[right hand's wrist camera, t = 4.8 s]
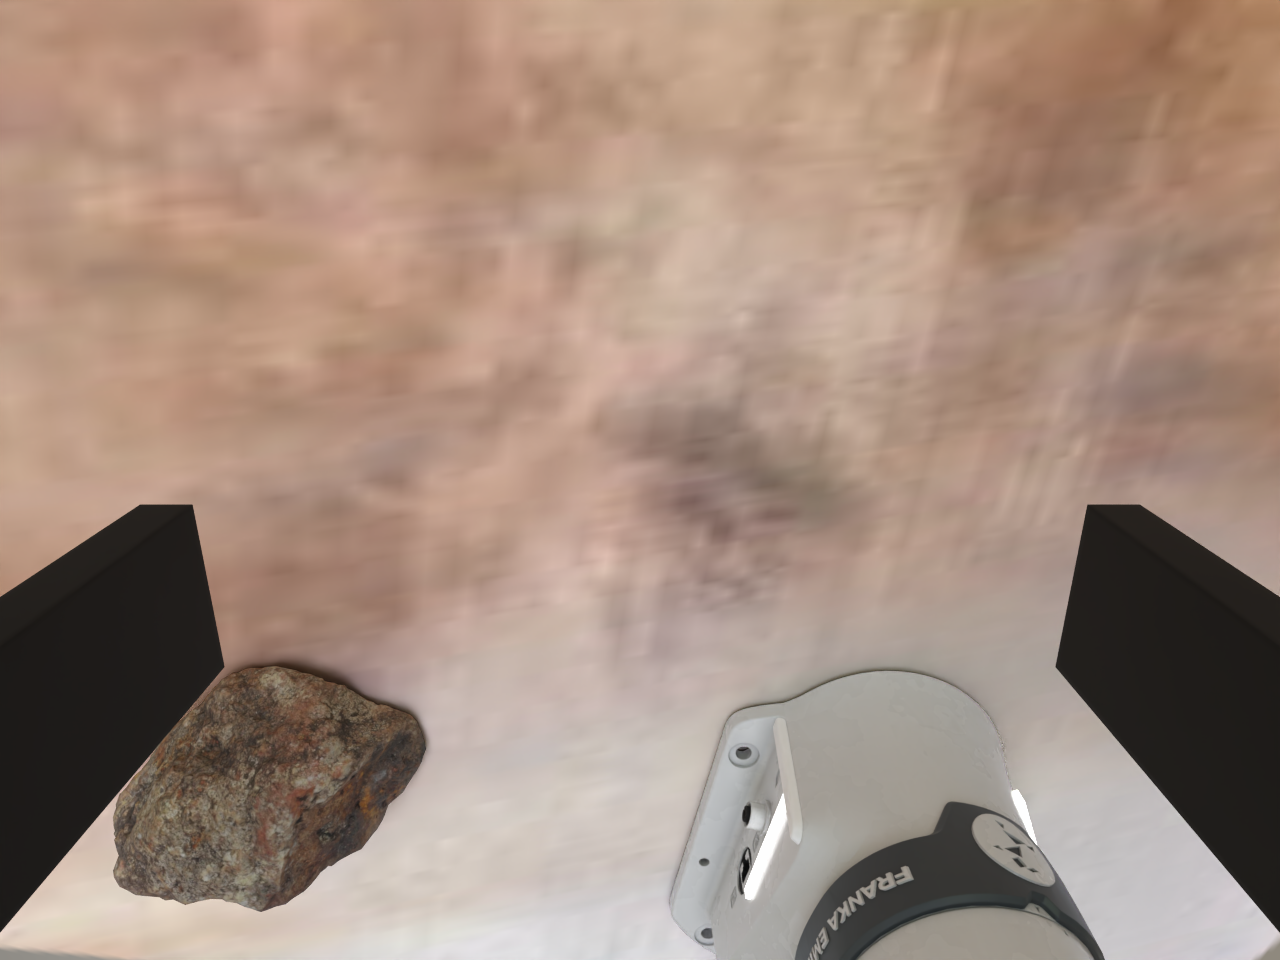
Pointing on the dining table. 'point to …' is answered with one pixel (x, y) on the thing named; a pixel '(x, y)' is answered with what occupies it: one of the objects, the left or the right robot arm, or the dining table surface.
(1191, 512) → the dining table surface
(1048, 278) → the dining table surface
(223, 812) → the rock
